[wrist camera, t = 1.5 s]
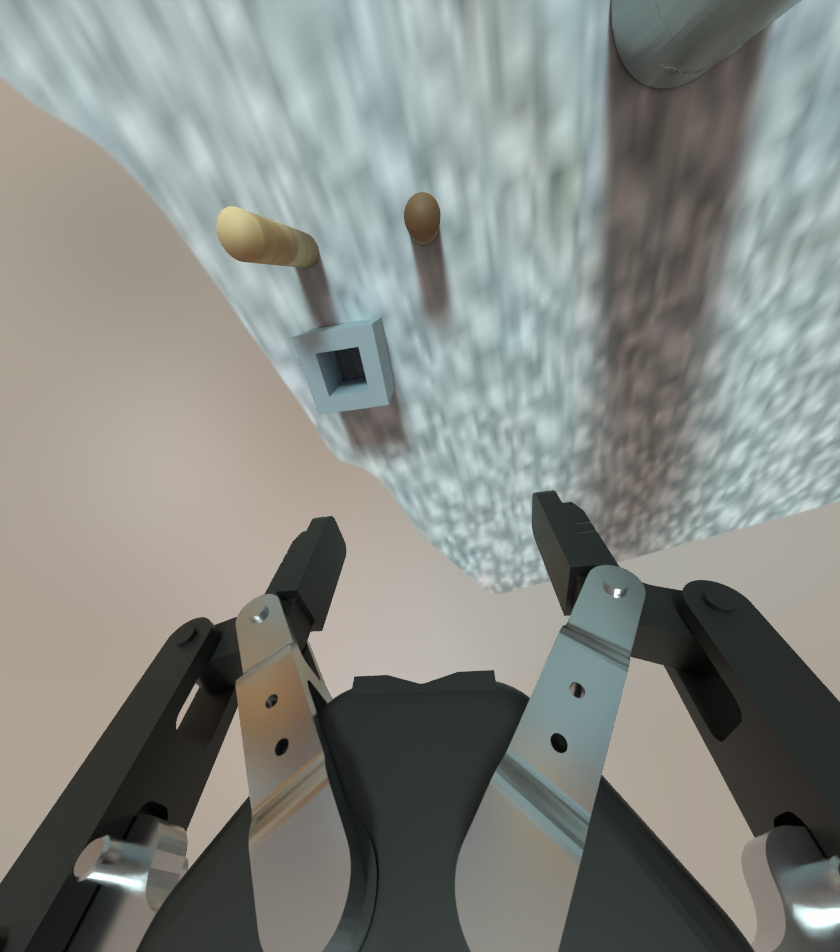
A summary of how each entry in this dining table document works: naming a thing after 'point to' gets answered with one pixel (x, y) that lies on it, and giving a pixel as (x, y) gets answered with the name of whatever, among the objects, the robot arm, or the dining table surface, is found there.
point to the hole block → (325, 370)
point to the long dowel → (264, 240)
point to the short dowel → (422, 218)
